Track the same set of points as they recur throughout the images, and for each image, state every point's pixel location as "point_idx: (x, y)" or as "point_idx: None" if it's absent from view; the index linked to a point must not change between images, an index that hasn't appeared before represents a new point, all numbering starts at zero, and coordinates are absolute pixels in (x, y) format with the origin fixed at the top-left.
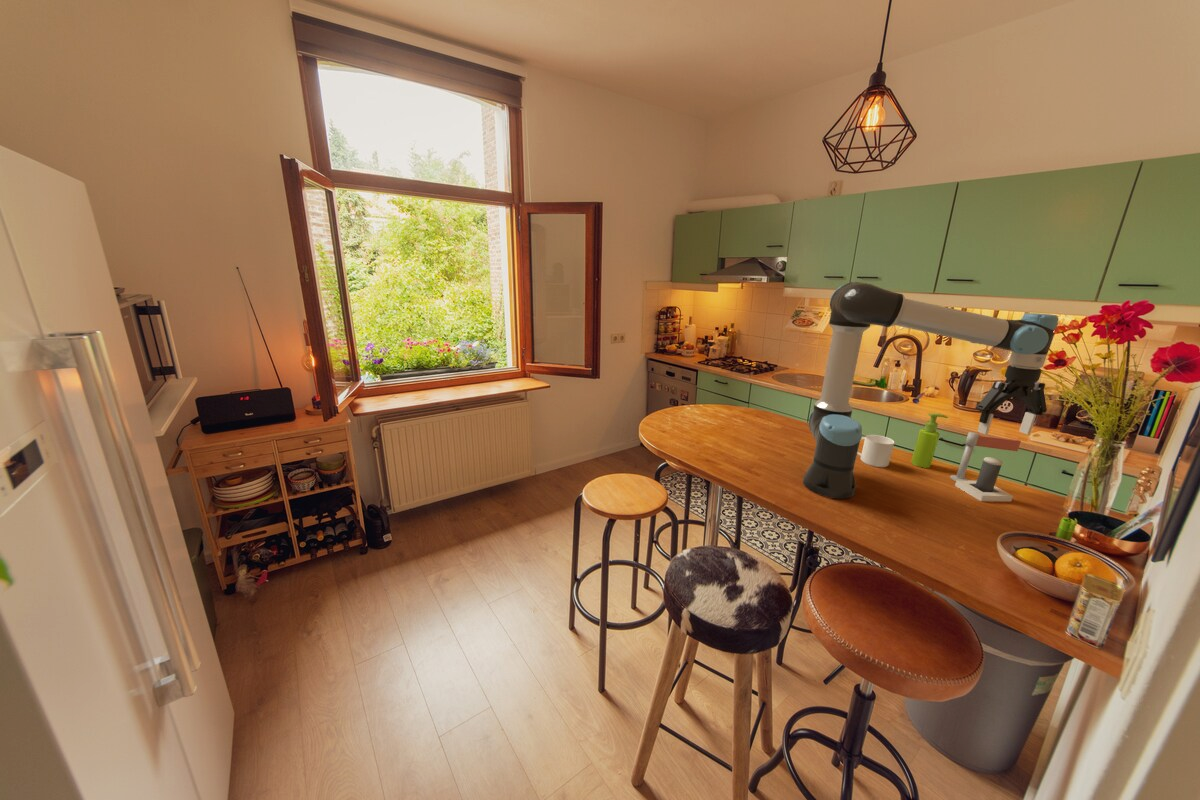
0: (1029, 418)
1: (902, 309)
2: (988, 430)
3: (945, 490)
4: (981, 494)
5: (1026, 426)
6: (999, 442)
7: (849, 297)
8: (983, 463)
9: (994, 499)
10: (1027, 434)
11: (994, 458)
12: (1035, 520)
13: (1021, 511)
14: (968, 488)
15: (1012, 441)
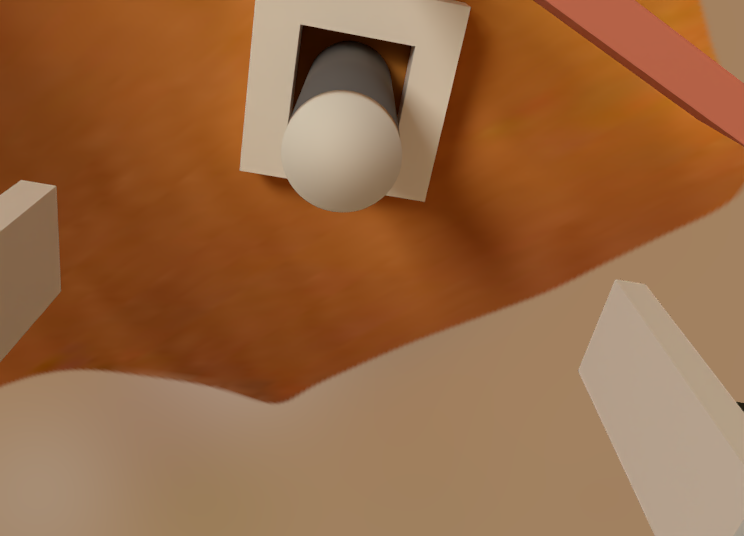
0: (672, 496)
1: None
2: (33, 319)
3: (139, 9)
4: (245, 158)
5: (624, 396)
6: (597, 40)
7: None
8: (292, 114)
9: None
10: (580, 371)
11: (389, 131)
12: (341, 332)
13: (363, 268)
14: (249, 71)
15: (693, 110)
